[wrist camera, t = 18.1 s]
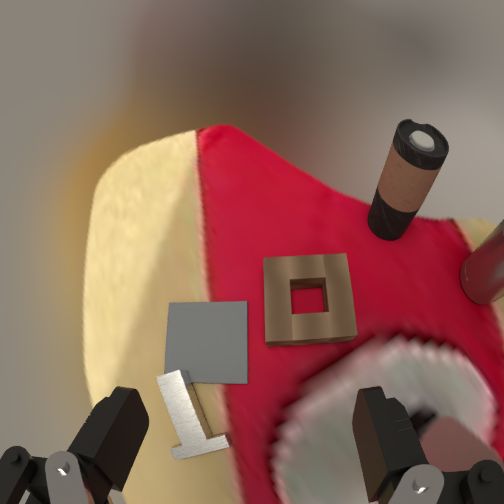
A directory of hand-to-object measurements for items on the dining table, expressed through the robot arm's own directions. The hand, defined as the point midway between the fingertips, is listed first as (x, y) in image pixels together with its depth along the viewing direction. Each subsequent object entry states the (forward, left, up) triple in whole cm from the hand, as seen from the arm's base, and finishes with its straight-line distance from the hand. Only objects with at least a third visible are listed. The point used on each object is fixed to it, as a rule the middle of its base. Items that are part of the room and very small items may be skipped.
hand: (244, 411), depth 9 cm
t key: (+14, +1, -28) cm, 31 cm away
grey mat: (+12, -5, -31) cm, 33 cm away
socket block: (0, -15, -31) cm, 34 cm away
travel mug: (-10, -33, -31) cm, 46 cm away
